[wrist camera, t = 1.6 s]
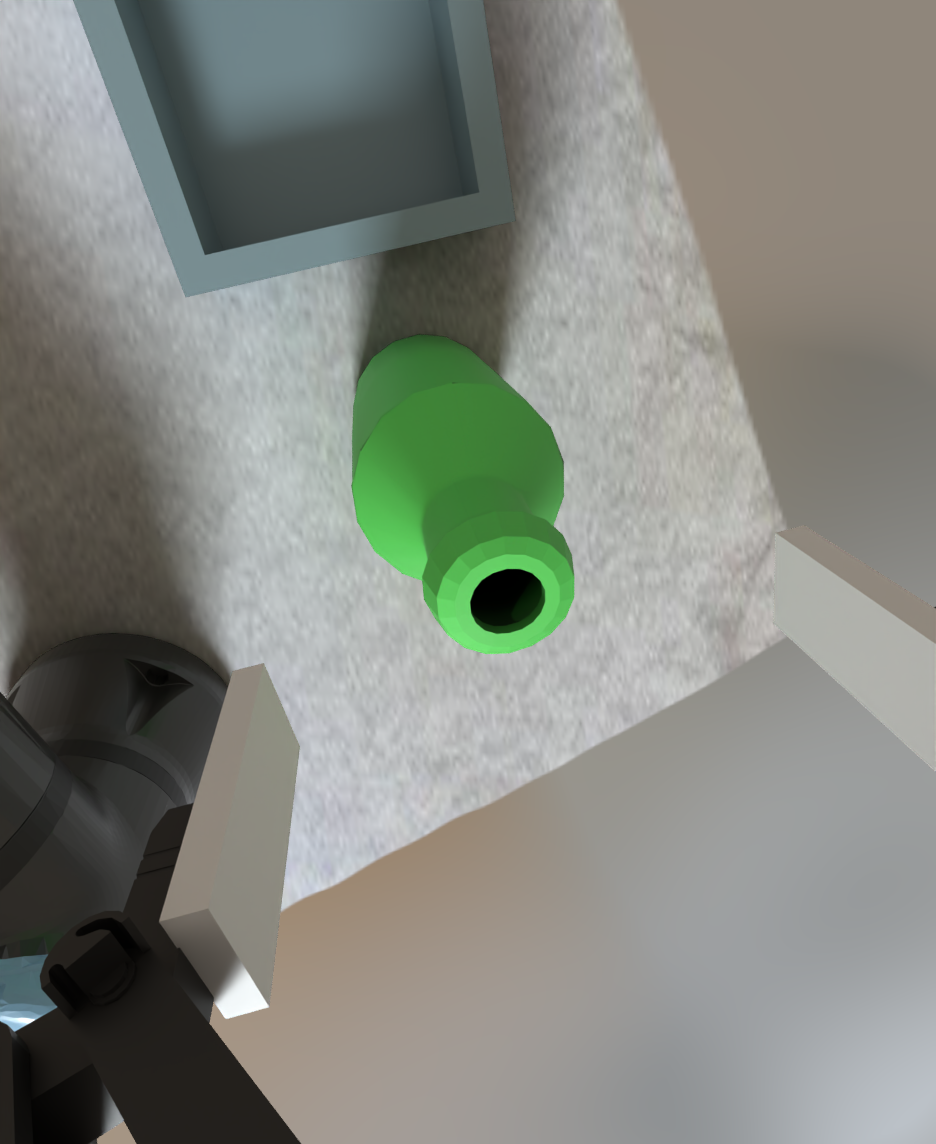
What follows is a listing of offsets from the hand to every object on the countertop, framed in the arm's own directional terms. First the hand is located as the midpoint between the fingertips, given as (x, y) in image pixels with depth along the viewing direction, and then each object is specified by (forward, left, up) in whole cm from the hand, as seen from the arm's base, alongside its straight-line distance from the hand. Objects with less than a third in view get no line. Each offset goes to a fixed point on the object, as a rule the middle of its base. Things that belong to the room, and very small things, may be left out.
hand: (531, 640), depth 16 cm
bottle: (0, 0, -27) cm, 27 cm away
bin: (-2, +17, -27) cm, 32 cm away
